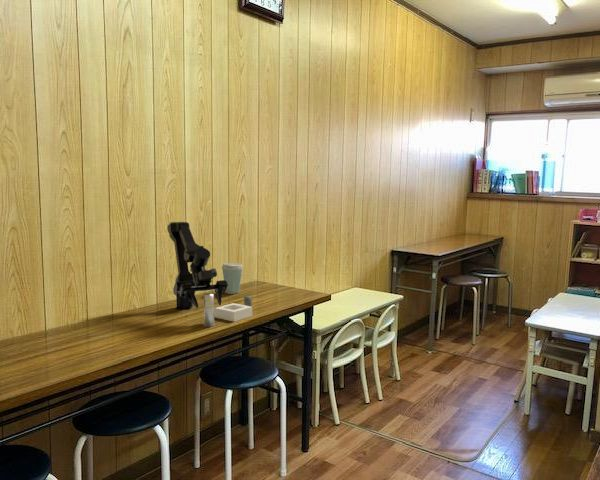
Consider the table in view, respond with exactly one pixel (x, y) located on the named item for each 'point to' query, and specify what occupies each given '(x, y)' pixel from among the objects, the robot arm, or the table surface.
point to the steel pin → (208, 309)
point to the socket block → (233, 312)
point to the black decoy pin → (248, 301)
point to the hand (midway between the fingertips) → (209, 306)
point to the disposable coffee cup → (232, 276)
